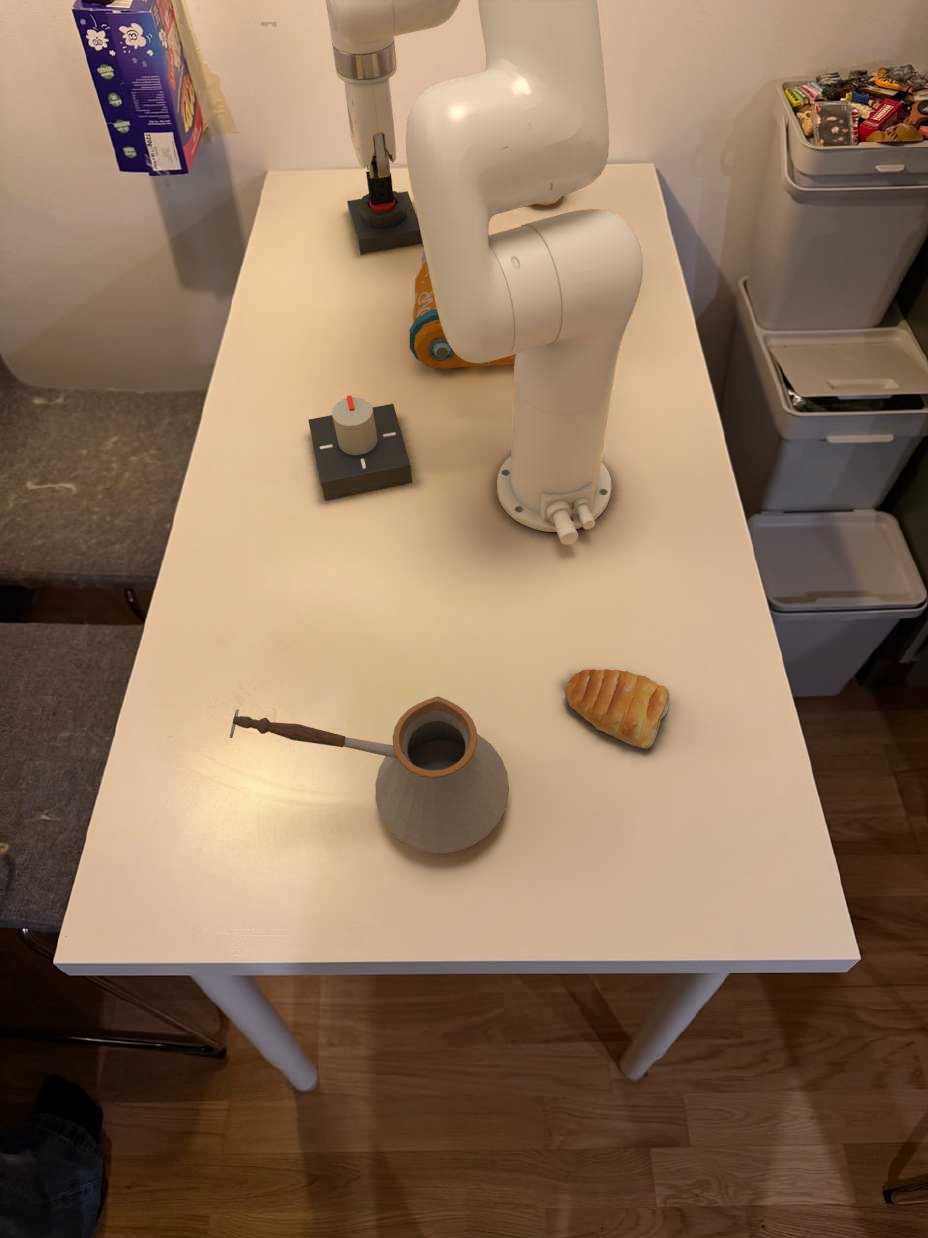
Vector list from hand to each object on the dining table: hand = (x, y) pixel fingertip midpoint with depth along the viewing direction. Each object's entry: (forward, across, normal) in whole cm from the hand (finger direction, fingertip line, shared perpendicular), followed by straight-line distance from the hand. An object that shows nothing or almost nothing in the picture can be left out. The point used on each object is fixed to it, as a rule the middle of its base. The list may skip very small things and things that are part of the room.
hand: (381, 200), depth 118 cm
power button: (+2, 0, 0) cm, 2 cm away
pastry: (+4, +82, +7) cm, 82 cm away
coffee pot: (+4, +85, -16) cm, 86 cm away
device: (+4, +24, +14) cm, 28 cm away
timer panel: (+4, +44, -11) cm, 46 cm away
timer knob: (+1, +44, -11) cm, 46 cm away
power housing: (+4, 0, 0) cm, 4 cm away
